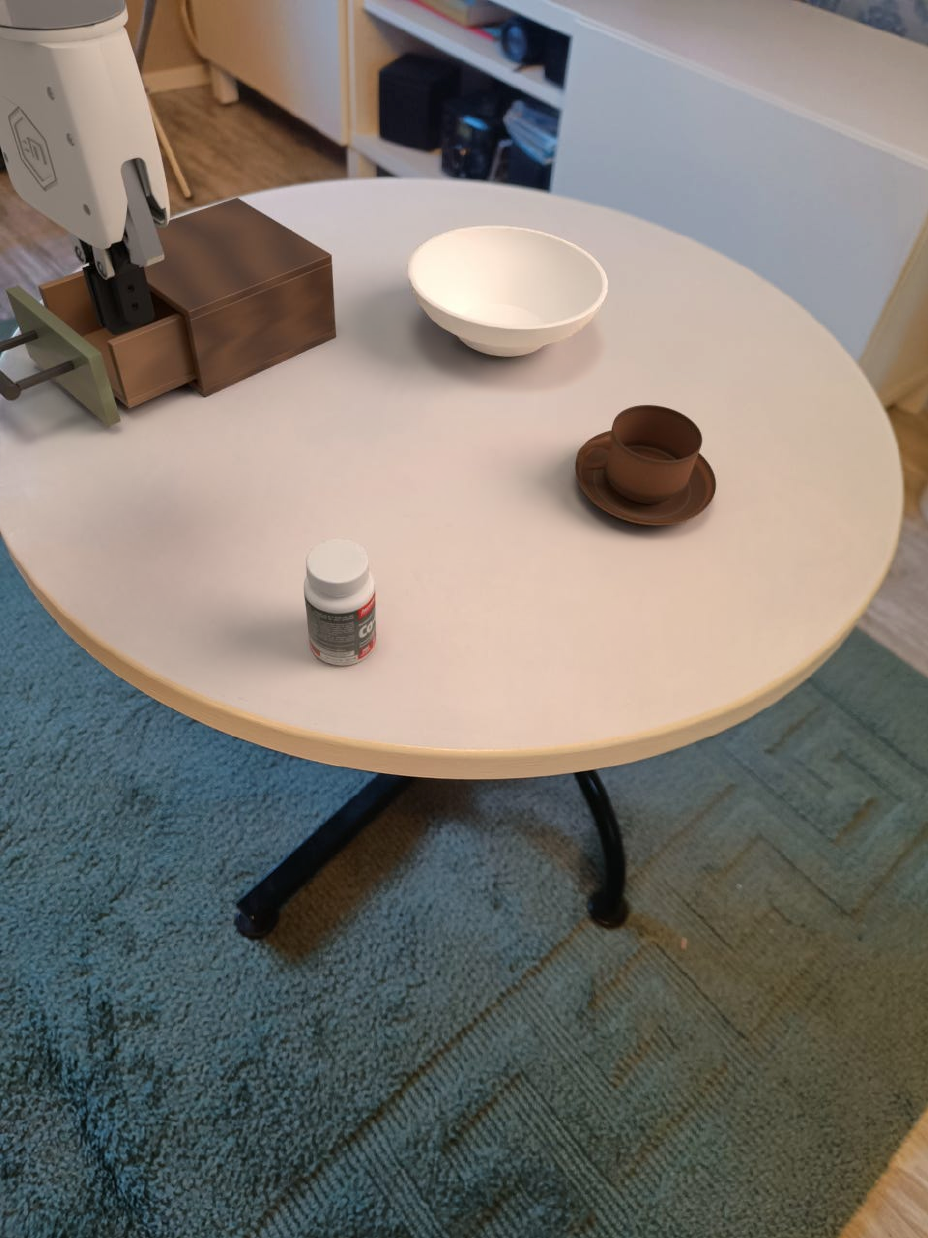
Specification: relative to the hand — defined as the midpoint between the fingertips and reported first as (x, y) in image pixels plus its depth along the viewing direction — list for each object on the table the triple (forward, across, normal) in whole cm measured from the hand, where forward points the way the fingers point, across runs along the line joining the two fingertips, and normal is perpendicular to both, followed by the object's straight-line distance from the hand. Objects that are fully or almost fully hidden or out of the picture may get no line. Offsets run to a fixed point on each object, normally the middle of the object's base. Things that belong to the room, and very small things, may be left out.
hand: (127, 322), depth 56 cm
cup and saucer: (+17, +24, +30) cm, 42 cm away
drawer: (+16, -19, +6) cm, 25 cm away
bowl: (+17, 0, +39) cm, 43 cm away
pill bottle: (+17, +19, +1) cm, 25 cm away
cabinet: (+17, -18, +19) cm, 31 cm away
